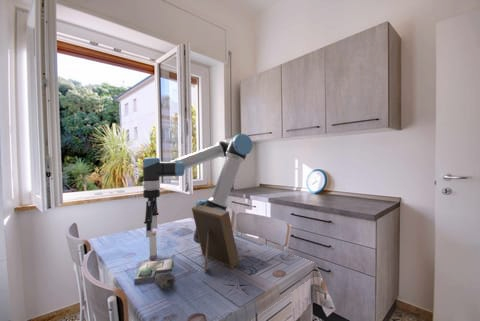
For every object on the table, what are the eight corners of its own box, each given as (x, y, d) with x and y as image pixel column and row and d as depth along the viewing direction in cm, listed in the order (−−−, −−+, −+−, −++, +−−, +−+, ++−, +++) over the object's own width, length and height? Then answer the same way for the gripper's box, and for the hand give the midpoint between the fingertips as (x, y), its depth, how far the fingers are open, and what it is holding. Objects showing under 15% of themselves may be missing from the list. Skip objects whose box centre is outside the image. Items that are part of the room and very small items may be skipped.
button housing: (156, 272, 94) (156, 268, 94) (153, 281, 87) (153, 276, 87) (138, 275, 93) (138, 270, 93) (134, 284, 86) (134, 279, 86)
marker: (156, 255, 112) (156, 231, 112) (155, 257, 109) (155, 233, 109) (150, 255, 111) (150, 231, 111) (149, 258, 108) (149, 233, 108)
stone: (153, 283, 88) (144, 278, 82) (161, 269, 91) (154, 264, 85) (174, 295, 84) (166, 290, 78) (181, 280, 88) (175, 275, 81)
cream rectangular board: (173, 260, 106) (173, 258, 106) (171, 270, 96) (171, 268, 96) (141, 263, 103) (141, 262, 103) (136, 274, 93) (136, 272, 93)
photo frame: (209, 251, 115) (208, 203, 115) (239, 265, 99) (238, 209, 99) (183, 261, 104) (182, 208, 104) (212, 278, 89) (211, 215, 89)
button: (152, 272, 92) (151, 266, 92) (150, 277, 88) (150, 271, 88) (141, 273, 92) (141, 267, 92) (139, 279, 88) (139, 272, 88)
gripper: (148, 186, 121) (148, 225, 121) (137, 193, 97) (137, 242, 97) (162, 186, 123) (163, 224, 123) (155, 192, 98) (155, 240, 98)
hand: (152, 232), depth 110 cm, fingers open, 13 cm apart
